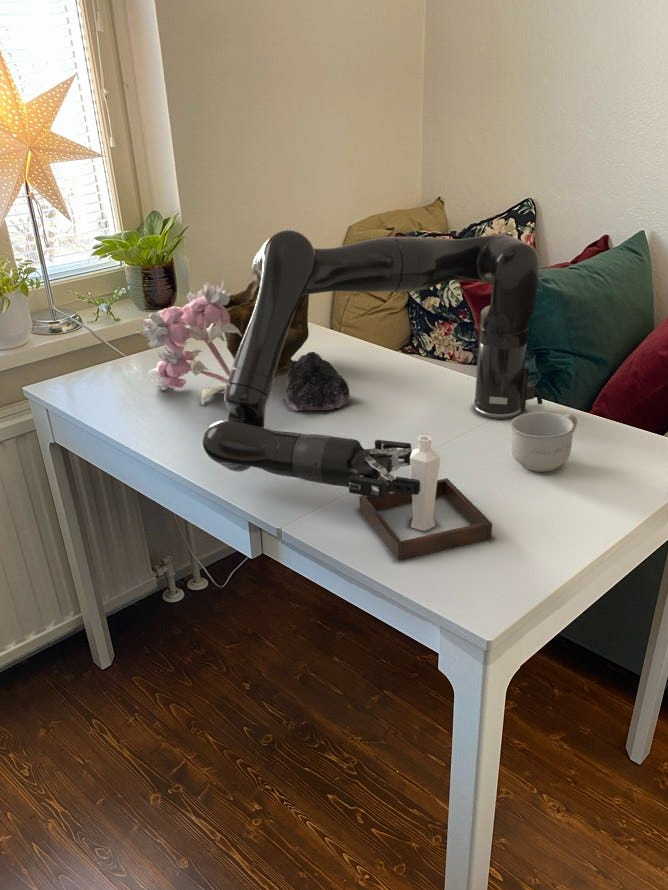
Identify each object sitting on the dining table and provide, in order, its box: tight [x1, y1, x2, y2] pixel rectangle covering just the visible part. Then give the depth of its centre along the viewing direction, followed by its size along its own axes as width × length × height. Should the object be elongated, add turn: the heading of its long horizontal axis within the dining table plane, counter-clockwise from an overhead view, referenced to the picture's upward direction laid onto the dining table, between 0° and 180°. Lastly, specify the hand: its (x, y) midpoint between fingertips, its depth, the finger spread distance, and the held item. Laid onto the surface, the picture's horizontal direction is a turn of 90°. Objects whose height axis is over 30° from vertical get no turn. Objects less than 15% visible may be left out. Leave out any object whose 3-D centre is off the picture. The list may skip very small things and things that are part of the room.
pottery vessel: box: [220, 278, 310, 376], centre depth 188 cm, size 25×11×20 cm, turn 138°
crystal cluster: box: [284, 351, 351, 412], centre depth 176 cm, size 13×14×10 cm
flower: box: [136, 278, 242, 406], centre depth 177 cm, size 20×22×25 cm
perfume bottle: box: [409, 434, 441, 532], centre depth 134 cm, size 5×4×15 cm
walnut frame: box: [359, 477, 493, 561], centre depth 137 cm, size 16×16×3 cm
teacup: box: [510, 411, 578, 473], centre depth 154 cm, size 14×11×8 cm
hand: (427, 474), depth 133 cm, fingers open, 8 cm apart
